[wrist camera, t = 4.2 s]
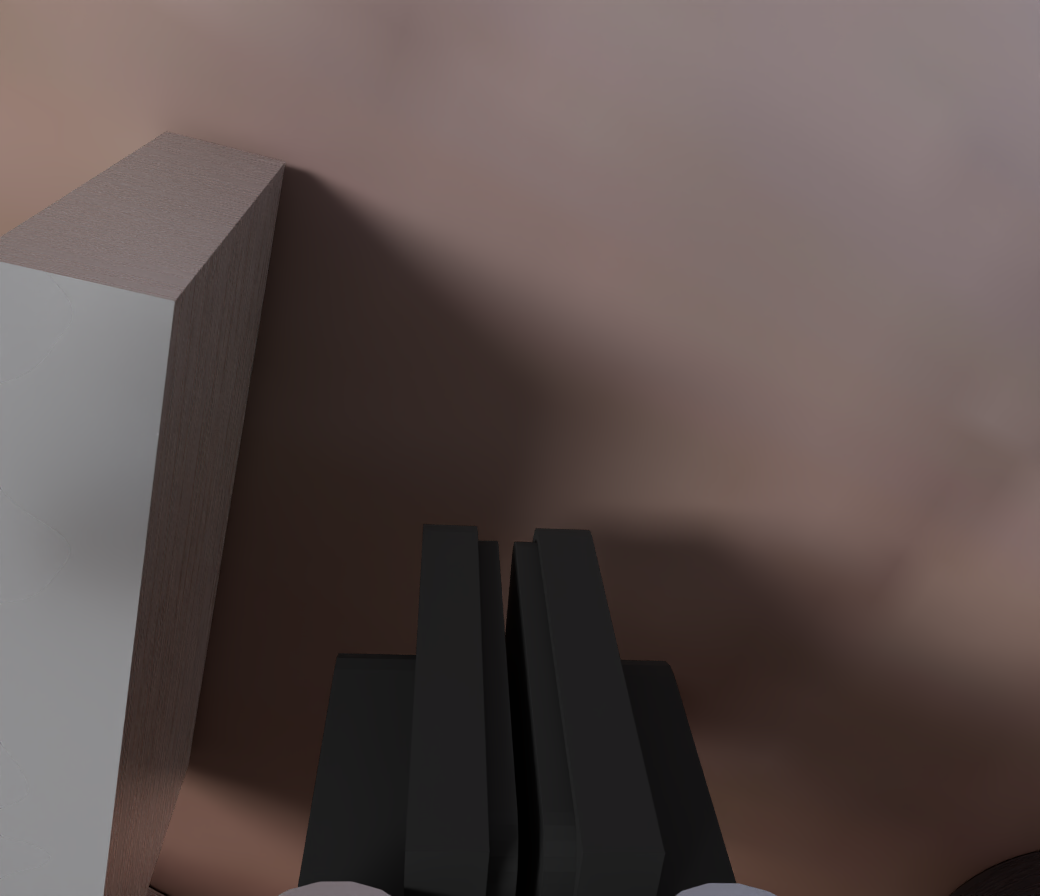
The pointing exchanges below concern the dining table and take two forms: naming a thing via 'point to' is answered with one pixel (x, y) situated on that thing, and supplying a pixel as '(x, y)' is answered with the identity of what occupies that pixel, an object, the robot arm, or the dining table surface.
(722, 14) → the dining table surface
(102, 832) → the leaf loose
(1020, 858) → the pin
